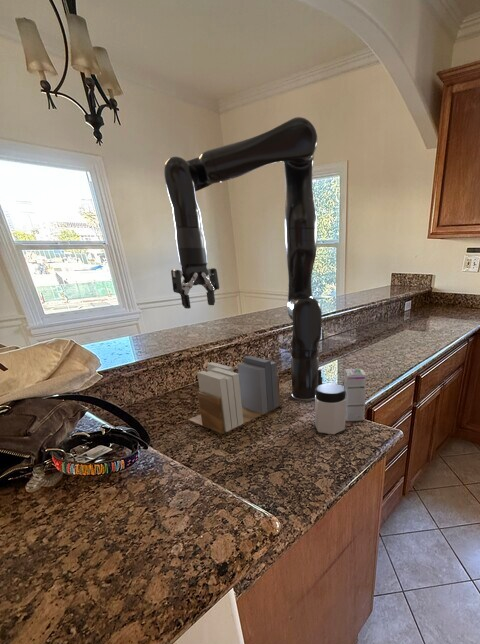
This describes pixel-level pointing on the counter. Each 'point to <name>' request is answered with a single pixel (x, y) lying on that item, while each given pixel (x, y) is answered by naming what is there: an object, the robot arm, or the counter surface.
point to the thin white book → (218, 366)
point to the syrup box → (355, 394)
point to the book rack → (219, 412)
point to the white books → (224, 394)
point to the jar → (330, 408)
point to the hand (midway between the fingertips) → (199, 306)
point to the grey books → (258, 384)
